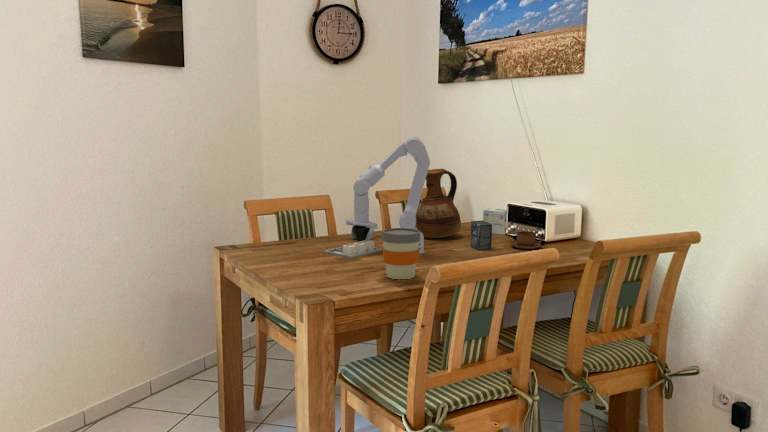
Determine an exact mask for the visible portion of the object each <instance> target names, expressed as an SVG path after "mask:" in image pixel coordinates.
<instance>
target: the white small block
mask: <svg viewBox="0 0 768 432" xmlns="http://www.w3.org/2000/svg"><path fill="white" fill-rule="evenodd" d="M362 243H366V250H369V251H373V250H374V247H375V240H372V239H366V240H363V241H362Z"/></svg>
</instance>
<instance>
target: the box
mask: <svg viewBox="0 0 768 432" xmlns="http://www.w3.org/2000/svg"><path fill="white" fill-rule="evenodd" d="M492 235H493V234H492V224H491V223H488V222H485V221H483V220H473V221H472V220H471V222H470V247H471V248H473V249H475V250H478V251H491V250H492Z"/></svg>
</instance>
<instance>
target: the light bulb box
mask: <svg viewBox="0 0 768 432" xmlns="http://www.w3.org/2000/svg"><path fill="white" fill-rule="evenodd" d="M507 210H508V209H502V208H501V209H500V208H491V207H490V208H485V209H483V213H482V214H483V215H482V217H483V218H482V221H485V222H488V223H491V224H492V235H502V236H503V235H507V234H506V215H507Z"/></svg>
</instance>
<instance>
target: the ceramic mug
mask: <svg viewBox="0 0 768 432" xmlns="http://www.w3.org/2000/svg"><path fill="white" fill-rule="evenodd" d="M354 227H355V226H353V225H352V227H351V238H352V239H357V238H356V235H355V233H354V231H353V228H354ZM374 236H375V229H372V228H370V230H369V232H368V234H367V237H366V239H371V240H373V239H374Z"/></svg>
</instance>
